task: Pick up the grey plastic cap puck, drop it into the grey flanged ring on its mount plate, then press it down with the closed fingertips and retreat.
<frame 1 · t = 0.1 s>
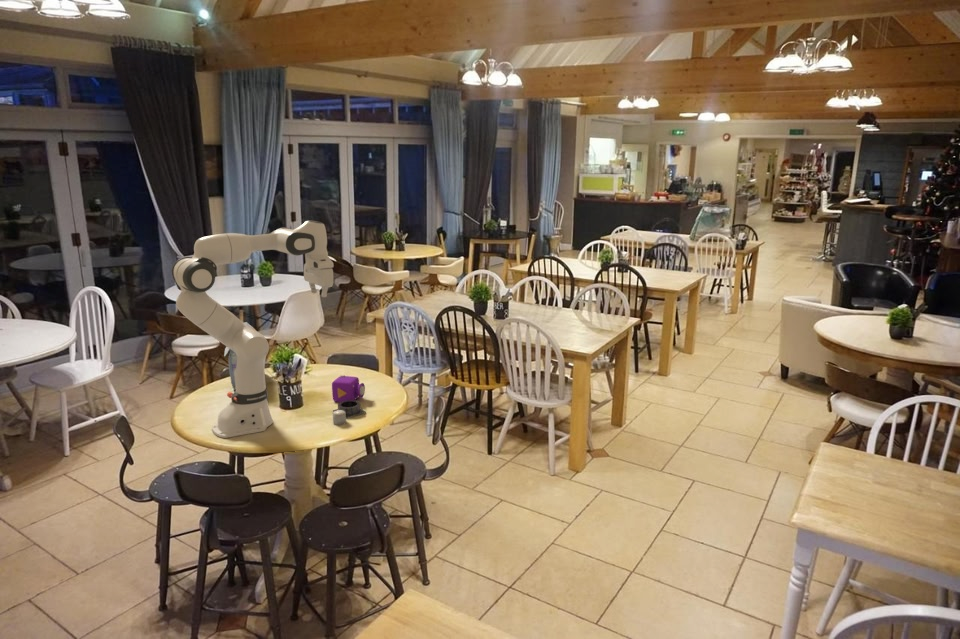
hand: (319, 295, 265), 48 cm above the table, fingers open, 8 cm apart
toy camera: (350, 400, 284), on the table
grey flanged ring: (349, 412, 270), on the table
lunch bag: (246, 381, 306), on the table
cap: (339, 422, 260), on the table
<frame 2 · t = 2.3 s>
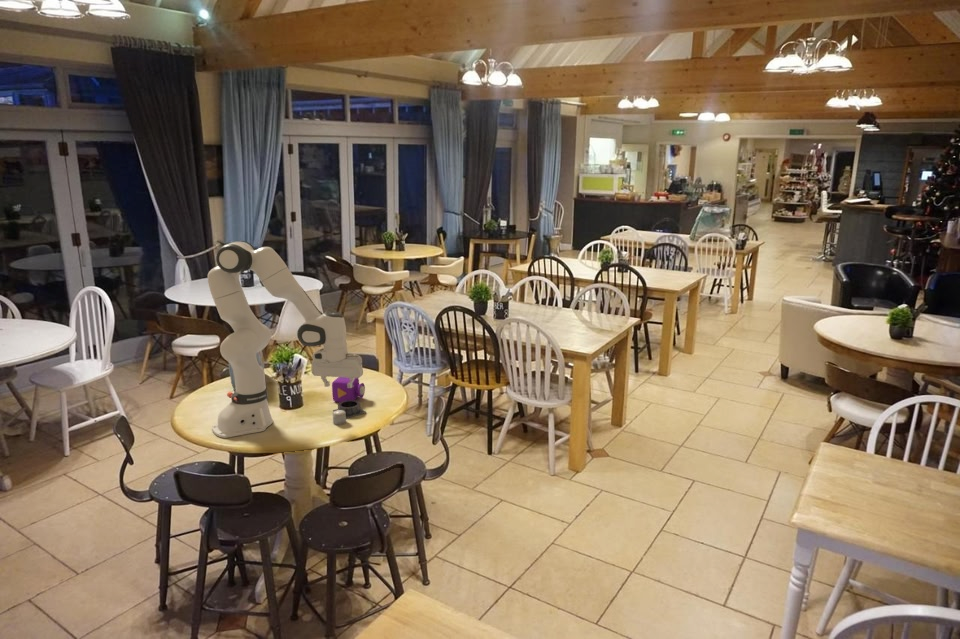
hand: (338, 387, 256), 15 cm above the table, fingers open, 8 cm apart
nothing on the table moved.
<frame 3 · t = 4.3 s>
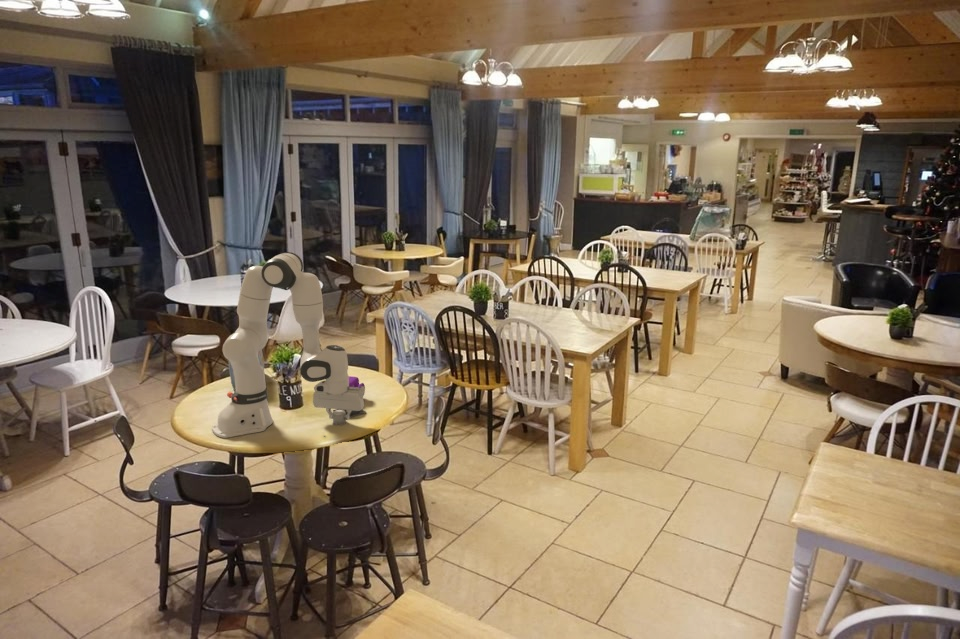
hand: (339, 418, 259), 2 cm above the table, fingers closed on cap, 5 cm apart
cap: (339, 422, 260), on the table, touching gripper
everything else where it was.
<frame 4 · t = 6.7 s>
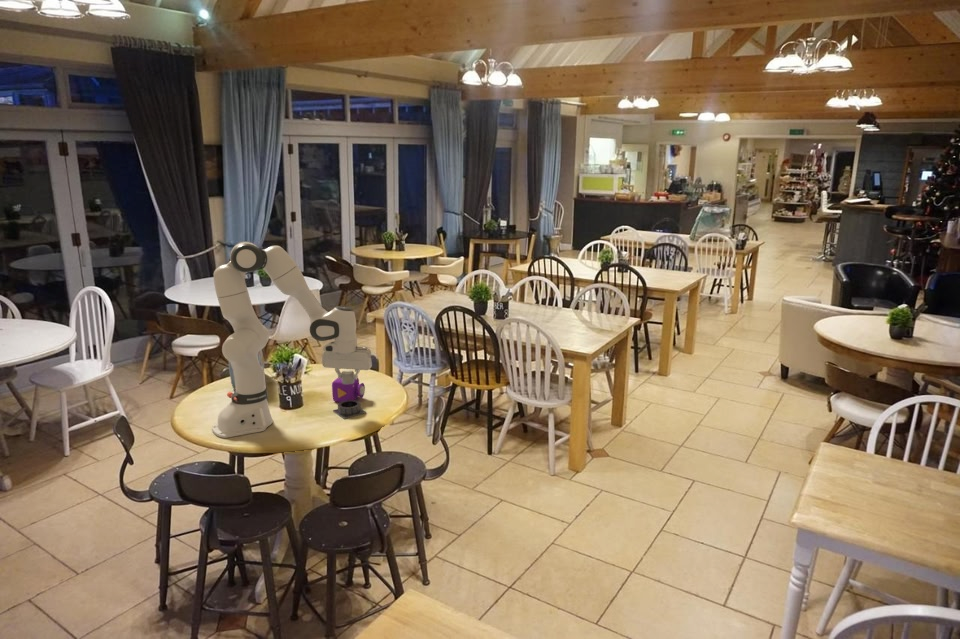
hand: (347, 378, 266), 15 cm above the table, fingers closed on cap, 5 cm apart
cap: (348, 382, 267), point 13 cm above the table, touching gripper
everything else where it was.
when the fingers open (6 cm above the table, at t = 9.0 s): cap drops 4 cm, resting on grey flanged ring.
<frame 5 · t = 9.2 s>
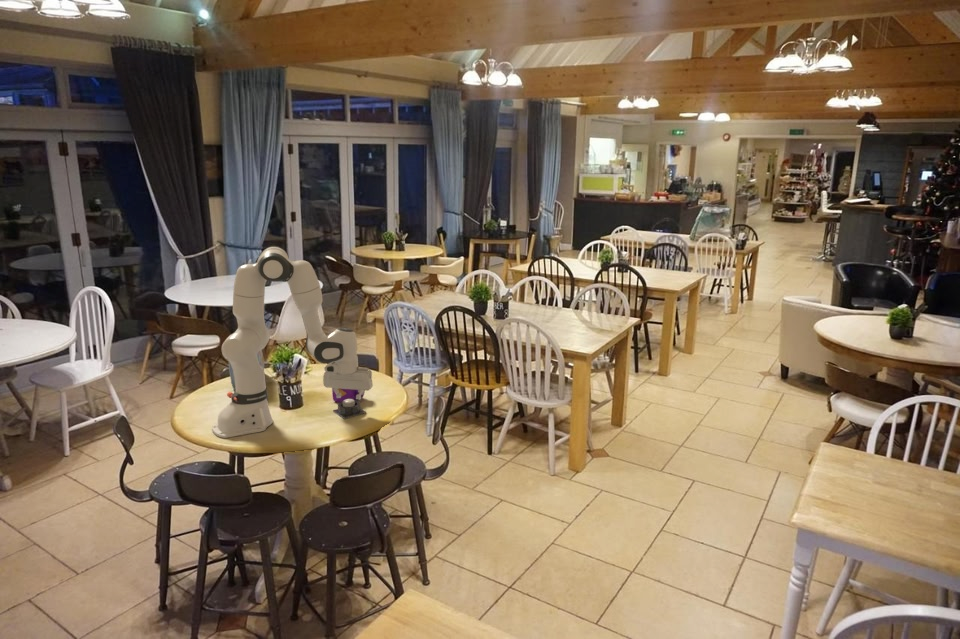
hand: (348, 398, 268), 6 cm above the table, fingers open, 7 cm apart
cap: (349, 411, 270), point 1 cm above the table, touching grey flanged ring
everything else where it was.
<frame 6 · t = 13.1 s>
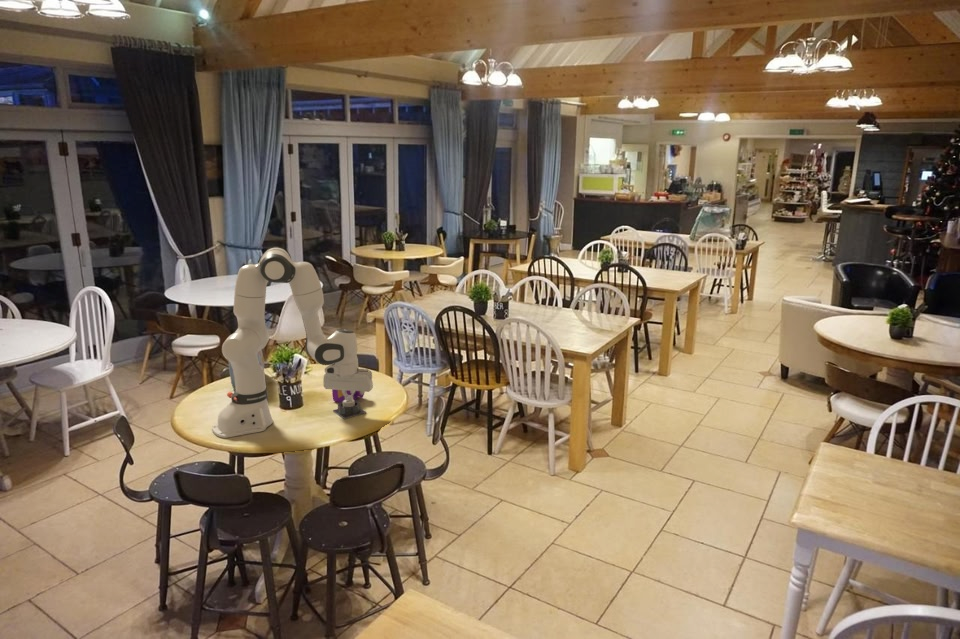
hand: (349, 399, 268), 6 cm above the table, fingers closed
nothing on the table moved.
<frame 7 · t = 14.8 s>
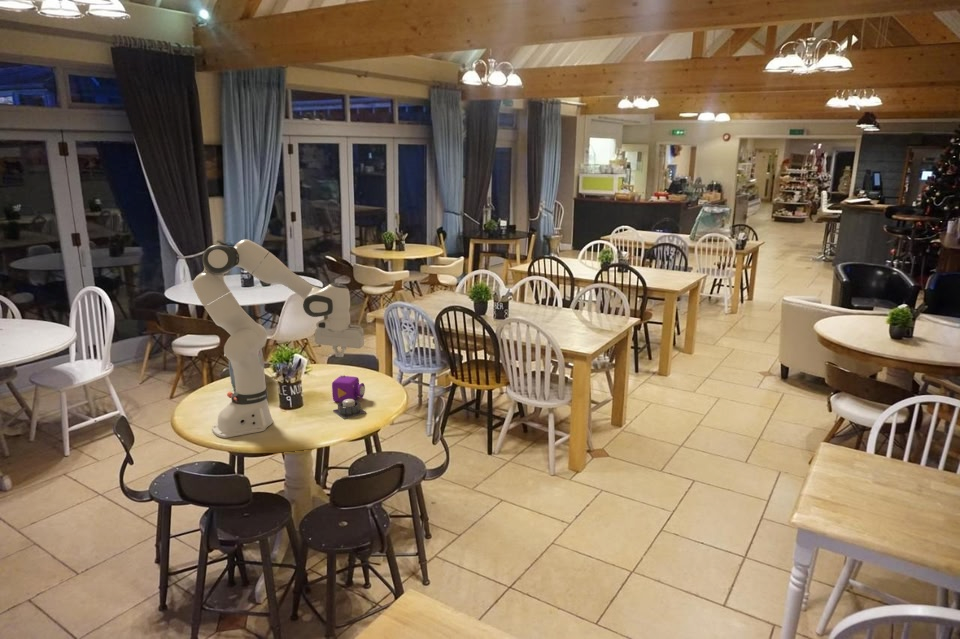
hand: (339, 356, 266), 24 cm above the table, fingers closed
nothing on the table moved.
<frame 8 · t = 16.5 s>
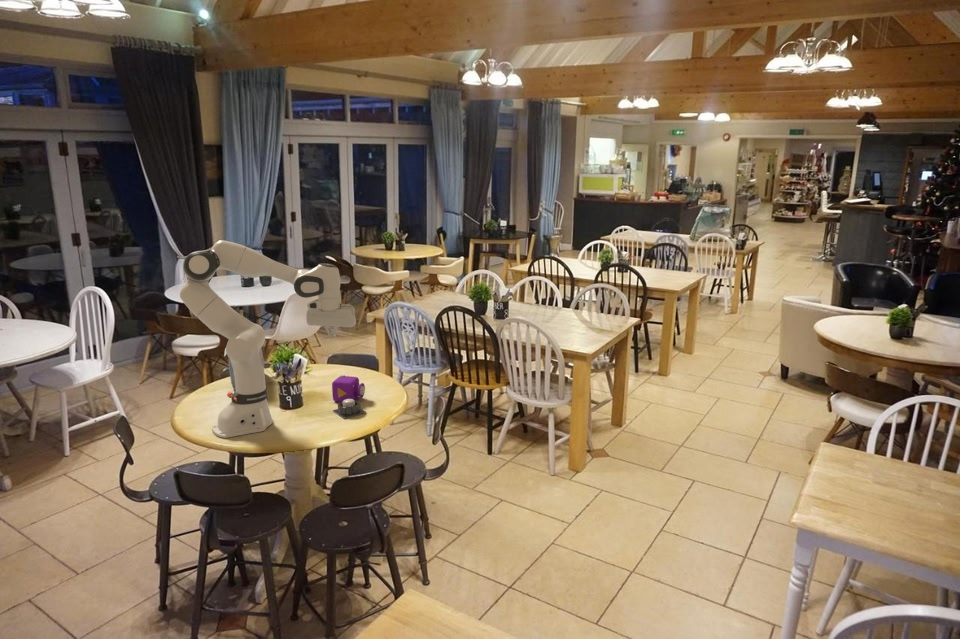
hand: (332, 336, 267), 31 cm above the table, fingers closed
nothing on the table moved.
at the end: cap 0.1 cm off-centre on the grey flanged ring, point 0.6 cm above the grey flanged ring's base; cap tilted 0°; the gripper is holding nothing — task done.
